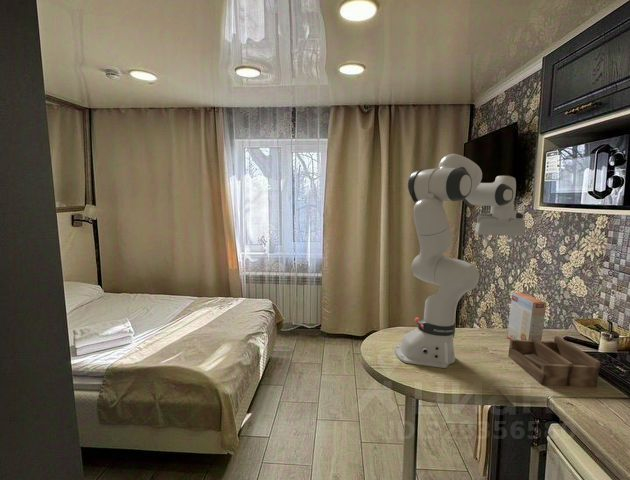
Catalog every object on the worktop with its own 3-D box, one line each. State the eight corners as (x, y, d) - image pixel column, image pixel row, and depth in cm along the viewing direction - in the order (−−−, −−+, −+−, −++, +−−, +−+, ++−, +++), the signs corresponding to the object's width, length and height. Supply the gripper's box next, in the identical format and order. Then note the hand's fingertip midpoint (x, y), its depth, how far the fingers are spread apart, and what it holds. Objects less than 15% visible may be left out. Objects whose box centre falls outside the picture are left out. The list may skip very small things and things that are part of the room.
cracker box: (540, 352, 140) (547, 302, 138) (526, 351, 140) (532, 302, 137) (519, 337, 154) (525, 292, 151) (506, 337, 154) (511, 292, 151)
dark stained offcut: (541, 371, 118) (542, 365, 118) (522, 360, 126) (523, 354, 125) (551, 370, 119) (552, 364, 119) (532, 359, 127) (533, 354, 126)
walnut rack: (541, 388, 113) (545, 359, 112) (507, 359, 133) (510, 334, 131) (595, 390, 113) (600, 361, 112) (554, 361, 133) (557, 336, 131)
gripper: (481, 213, 146) (477, 245, 148) (529, 215, 146) (525, 247, 148) (474, 212, 152) (471, 243, 154) (520, 214, 152) (516, 245, 154)
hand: (498, 245), depth 151 cm, fingers open, 8 cm apart
